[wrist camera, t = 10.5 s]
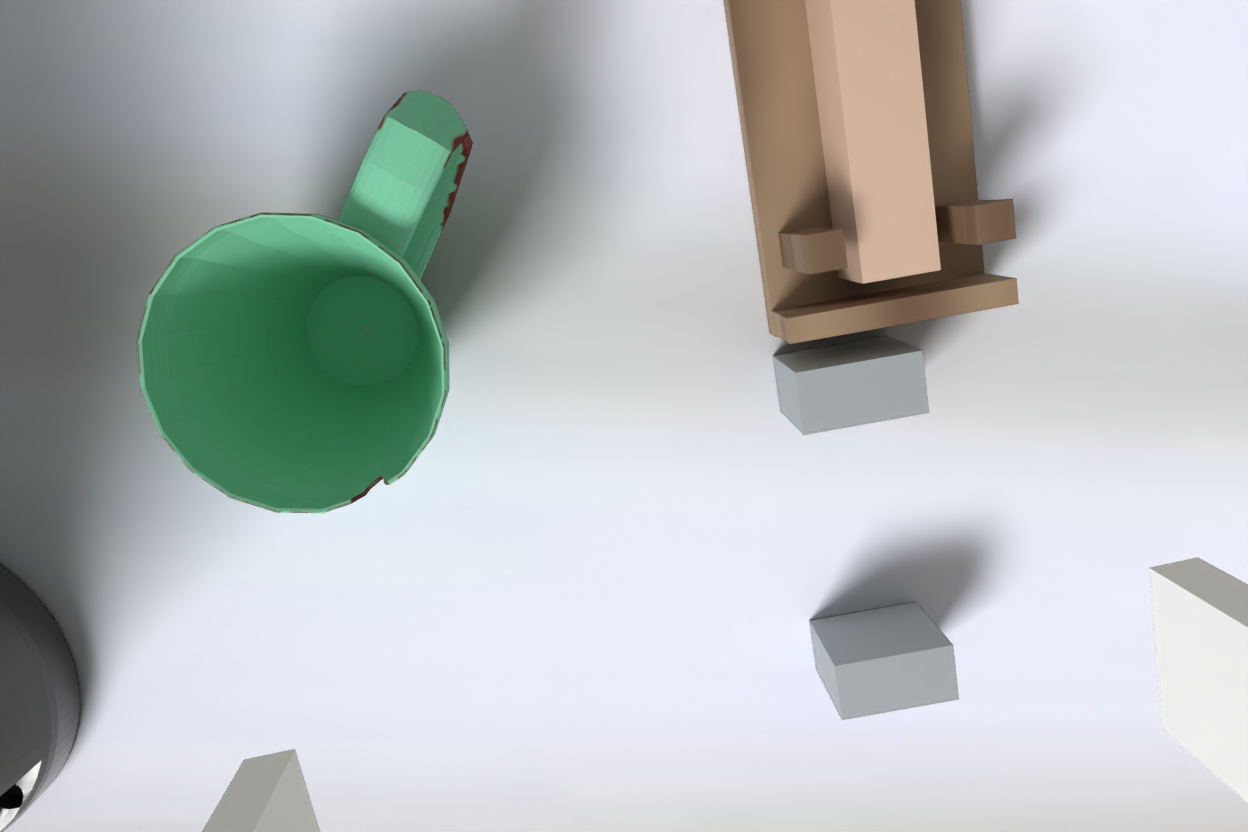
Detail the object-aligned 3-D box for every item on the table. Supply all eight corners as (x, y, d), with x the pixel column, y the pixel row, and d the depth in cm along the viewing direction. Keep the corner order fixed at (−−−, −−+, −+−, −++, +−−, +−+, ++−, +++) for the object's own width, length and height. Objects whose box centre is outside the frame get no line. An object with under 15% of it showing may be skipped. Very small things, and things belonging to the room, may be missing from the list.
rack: (769, 333, 41) (800, 353, 35) (707, -120, 37) (730, -183, 31) (975, 296, 41) (1040, 311, 35) (933, -159, 37) (999, -229, 31)
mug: (417, 481, 42) (366, 564, 32) (208, 377, 40) (87, 429, 30) (575, 180, 39) (572, 168, 29) (357, 58, 38) (279, 3, 28)
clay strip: (838, 277, 39) (862, 283, 36) (794, -86, 36) (816, -118, 33) (909, 265, 39) (940, 269, 36) (871, -100, 36) (901, -133, 33)
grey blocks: (816, 669, 44) (841, 720, 40) (772, 355, 41) (795, 372, 37) (921, 651, 44) (958, 699, 40) (886, 335, 41) (922, 350, 37)
